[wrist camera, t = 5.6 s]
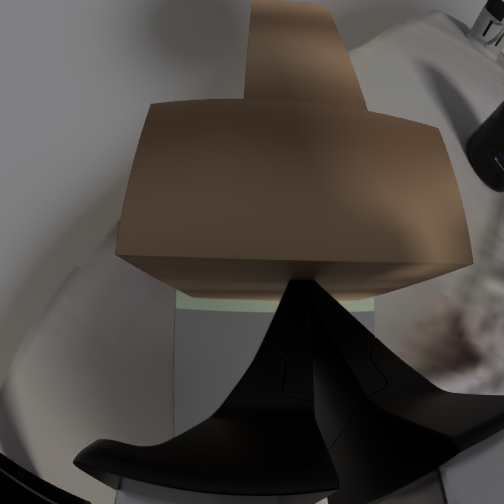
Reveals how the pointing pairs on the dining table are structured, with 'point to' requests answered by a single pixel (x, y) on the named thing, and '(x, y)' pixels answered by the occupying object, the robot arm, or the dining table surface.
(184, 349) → the mat
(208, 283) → the t block
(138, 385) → the dining table surface
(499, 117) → the supplement bottle
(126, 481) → the robot arm
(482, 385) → the dining table surface
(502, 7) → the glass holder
